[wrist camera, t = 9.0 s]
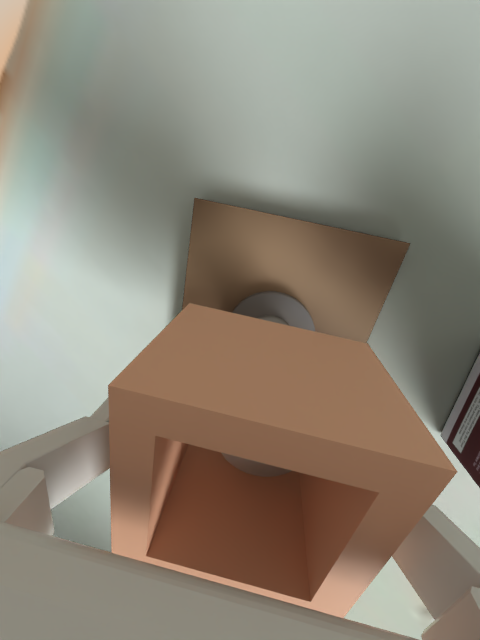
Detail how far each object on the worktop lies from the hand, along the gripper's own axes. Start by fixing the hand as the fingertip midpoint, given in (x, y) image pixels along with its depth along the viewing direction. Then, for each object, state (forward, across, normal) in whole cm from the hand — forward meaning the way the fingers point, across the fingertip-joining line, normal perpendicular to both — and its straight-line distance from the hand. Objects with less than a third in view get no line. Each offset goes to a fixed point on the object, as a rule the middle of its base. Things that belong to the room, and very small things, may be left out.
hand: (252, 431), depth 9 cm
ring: (+2, 0, 0) cm, 2 cm away
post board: (+10, 0, 0) cm, 10 cm away
